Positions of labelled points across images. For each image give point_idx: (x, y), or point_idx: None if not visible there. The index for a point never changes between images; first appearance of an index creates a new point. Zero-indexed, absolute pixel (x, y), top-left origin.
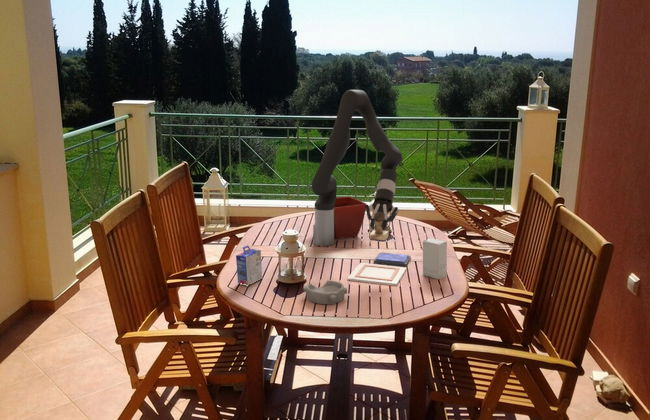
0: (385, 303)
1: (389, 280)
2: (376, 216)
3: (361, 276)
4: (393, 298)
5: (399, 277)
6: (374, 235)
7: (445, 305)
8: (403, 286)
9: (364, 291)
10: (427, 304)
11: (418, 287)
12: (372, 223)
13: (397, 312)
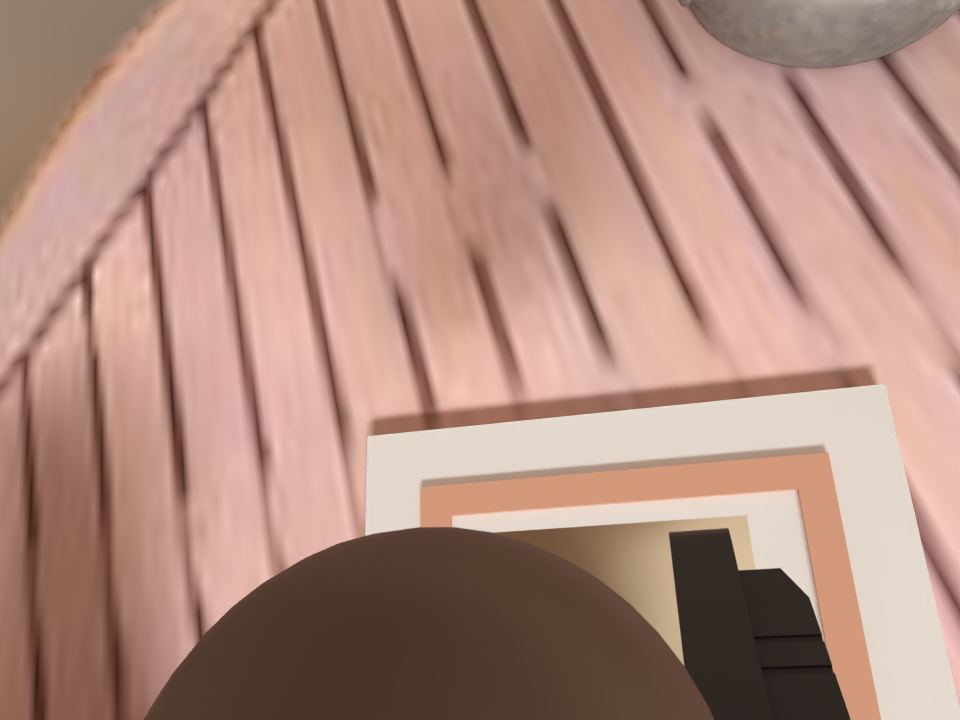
0: (383, 86)
1: (446, 486)
2: (485, 546)
3: (751, 470)
4: (349, 184)
5: None
6: (611, 525)
7: (22, 231)
8: (317, 450)
9: (598, 207)
10: (125, 195)
11: (198, 478)
12: (717, 611)
13: (287, 10)
